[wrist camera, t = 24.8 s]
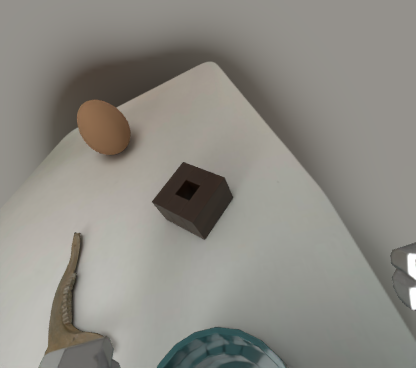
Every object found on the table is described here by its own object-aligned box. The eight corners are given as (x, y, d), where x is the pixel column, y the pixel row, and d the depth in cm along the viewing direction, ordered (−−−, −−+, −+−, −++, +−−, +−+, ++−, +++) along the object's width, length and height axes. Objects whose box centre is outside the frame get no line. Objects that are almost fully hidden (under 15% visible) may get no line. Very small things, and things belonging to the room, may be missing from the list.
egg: (130, 164, 56) (95, 120, 47) (94, 165, 59) (54, 123, 51) (145, 131, 60) (115, 84, 52) (111, 133, 64) (77, 90, 55)
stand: (233, 197, 45) (224, 177, 41) (204, 239, 42) (192, 222, 39) (194, 181, 49) (183, 161, 45) (166, 219, 47) (151, 201, 43)
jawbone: (58, 397, 37) (44, 397, 35) (37, 266, 50) (27, 261, 48) (118, 349, 37) (108, 347, 35) (82, 232, 50) (73, 226, 49)
